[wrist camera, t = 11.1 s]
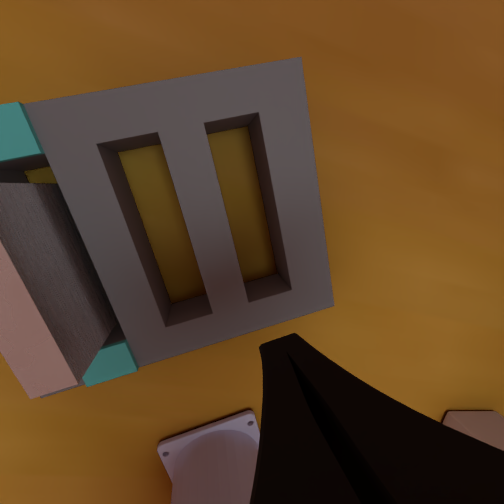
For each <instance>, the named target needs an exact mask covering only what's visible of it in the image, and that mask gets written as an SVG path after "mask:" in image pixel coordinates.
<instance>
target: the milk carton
mask: <svg viewBox="0 0 504 504" xmlns="http://www.w3.org/2000/svg"><path fill="white" fill-rule="evenodd" d="M442 424H444V425H446V426H448V427H451V428H453V429H455V430H457V431H460V432H462V433H464V434H466V435H469V436H471V437H473V438H476V439H478V440H480V441H482V442H485V443H487V444H489V445H491V446H494V447H496V448H498V449H501V450H503V451H504V417H503V416H501V415H500V414H499V413H497V412H496V411H449V412H447V415H446V417H445V419H444V421H443V423H442Z"/></svg>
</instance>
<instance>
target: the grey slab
mask: <svg viewBox="0 0 504 504" xmlns="http://www.w3.org/2000/svg"><path fill="white" fill-rule="evenodd" d="M117 321H118V319H117V317H116V314H115V312H114V310H113V307H112V305H111V303H110V301H109V298H108V296H107V294H106V292H105V289H104V287H103V285H102V282H101V280H100V278H99V276H98V273H97V271H96V269H95V266H94V264H93V262H92V260H91V257H90V255H89V253H88V251H87V248H86V246H85V244H84V241H83V239H82V237H81V235H80V232H79V230H78V228H77V226H76V223H75V221H74V219H73V216H72V214H71V212H70V210H69V207H68V205H67V203H66V200H65V198H64V196H63V194H62V191H61V189H60V187H59V185H58V184H40V183H0V352H1V353H2V355H3V357H4V358H5V360H6V361H7V363H8V365H9V366H10V368H11V369H12V371H13V372H14V374H15V376H16V377H17V379H18V380H19V382H20V383H21V385H22V387H23V388H24V390H25V391H26V393H27V395H28V396H29V398H30V399H32V398H36V397H39V396H42V395H45V394H48V393H52V392H55V391H58V390H61V389H64V388H68V387H71V386H74V385H77V384H79V382H80V381H81V379H82V377H83V376H84V374H85V373H86V371H87V369H88V368H89V366H90V365H91V363H92V361H93V360H94V358H95V356H96V355H97V353H98V352H99V350H100V348H101V347H102V345H103V344H104V342H105V340H106V339H107V337H108V336H109V334H110V332H111V331H112V329H113V328H114V326H115V324H116V323H117Z"/></svg>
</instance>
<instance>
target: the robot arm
mask: <svg viewBox="0 0 504 504" xmlns="http://www.w3.org/2000/svg"><path fill="white" fill-rule="evenodd" d="M259 350H260V354H261V359H262V369H263V403H262V416H261V429H260V432H259V428H258V425H257V421H256V418H255V414H254V412H253V411H251V410H248V411H245V412H242V413H239V414H236V415H234V416H231V417H228V418H225V419H222V420H220V421H217V422H214V423H211V424H208V425H206V426H203V427H200V428H197V429H194V430H192V431H189V432H186V433H183V434H180V435H178V436H175V437H172V438H169V439H166V440H164V441H161V442H160V443H159V444H158V447H157V452H158V454H159V456H160V458H161V460H162V462H163V464H164V466H165V469H166V471H167V473H168V475H169V477H170V479H171V481H172V483H173V486H172V496H171V504H504V451H503V450H501V449H498V448H496V447H494V446H491V445H489V444H487V443H485V442H482V441H480V440H478V439H476V438H473V437H471V436H469V435H466V434H464V433H462V432H460V431H457V430H455V429H453V428H451V427H448V426H446V425H444V424H442V423H439V422H437V421H435V420H433V419H431V418H429V417H427V416H425V415H423V414H421V413H419V412H417V411H415V410H413V409H411V408H409V407H408V406H406V405H404V404H402V403H400V402H398V401H396V400H394V399H392V398H391V397H389V396H387V395H385V394H384V393H382V392H380V391H378V390H377V389H375V388H373V387H372V386H370V385H368V384H367V383H365V382H363V381H362V380H360V379H358V378H357V377H355V376H354V375H352V374H351V373H349V372H348V371H346V370H345V369H343V368H342V367H340V366H339V365H337V364H336V363H334V362H333V361H331V360H330V359H329V358H327V357H326V356H324V355H323V354H322V353H320V352H319V351H318V350H316V349H315V348H314V347H312V346H311V345H310V344H309V343H307V342H306V341H305V340H304V339H302V338H301V337H300V336H299V335H297V334H296V333H293V334H290V335H287V336H284V337H281V338H278V339H275V340H272V341H269V342H266V343H264V344H261V346H260V347H259Z"/></svg>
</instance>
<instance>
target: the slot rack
mask: <svg viewBox="0 0 504 504" xmlns="http://www.w3.org/2000/svg"><path fill="white" fill-rule="evenodd" d="M245 126H248V129H249V134H250V139H251V143H252V148H253V153H254V158H255V163H256V168H257V173H258V178H259V183H260V188H261V193H262V198H263V203H264V208H265V213H266V218H267V223H268V228H269V233H270V238H271V243H272V248H273V253H274V257H275V262H276V267H277V272H278V274H274V275H271V276H267V277H264V278H260V279H257V280H253V281H250V282H246V283H244V282H243V278H242V274H241V270H240V266H239V262H238V258H237V254H236V250H235V246H234V242H233V238H232V234H231V230H230V226H229V222H228V218H227V214H226V210H225V206H224V202H223V198H222V194H221V190H220V186H219V182H218V178H217V174H216V170H215V166H214V162H213V158H212V154H211V150H210V146H209V142H208V138H207V134H210V133H215V132H220V131H225V130H230V129H235V128H240V127H245ZM156 144H162V147H163V150H164V154H165V157H166V160H167V164H168V167H169V170H170V174H171V177H172V180H173V183H174V187H175V190H176V193H177V197H178V200H179V203H180V207H181V210H182V213H183V216H184V220H185V223H186V226H187V230H188V233H189V236H190V240H191V243H192V246H193V249H194V253H195V256H196V259H197V263H198V266H199V269H200V273H201V276H202V279H203V282H204V286H205V289H206V292H207V294H205V295H201V296H198V297H194V298H191V299H187V300H184V301H180V302H177V303H173V304H171V301H170V299H169V296H168V293H167V290H166V287H165V285H164V282H163V279H162V276H161V273H160V271H159V268H158V265H157V262H156V259H155V257H154V254H153V251H152V248H151V245H150V243H149V240H148V237H147V234H146V231H145V228H144V226H143V223H142V220H141V217H140V214H139V212H138V209H137V206H136V203H135V200H134V198H133V195H132V192H131V189H130V186H129V184H128V181H127V178H126V175H125V172H124V170H123V167H122V164H121V161H120V158H119V156H118V153H117V152H121V151H126V150H131V149H136V148H141V147H146V146H151V145H156ZM47 166H51V169H52V171H53V173H54V175H55V178H56V180H57V182H58V185H59V187H60V189H61V191H62V194H63V196H64V198H65V200H66V203H67V205H68V207H69V210H70V212H71V214H72V216H73V219H74V221H75V223H76V226H77V228H78V230H79V232H80V235H81V237H82V239H83V241H84V244H85V246H86V248H87V251H88V253H89V255H90V257H91V260H92V262H93V264H94V266H95V269H96V271H97V273H98V276H99V278H100V280H101V282H102V285H103V287H104V289H105V292H106V294H107V296H108V298H109V301H110V303H111V305H112V307H113V310H114V312H115V314H116V317H117V319H118V321H117V323H116V324H115V326H114V328H113V329H112V331H111V332H110V334H109V336H108V337H107V339H106V340H105V342H104V344H103V345H102V347H101V348H100V350H99V352H98V353H97V355H96V356H95V358H94V360H93V361H92V363H91V365H90V366H89V368H88V369H87V371H86V373H85V374H84V376H83V377H82V379H81V381H80V382H79V384H77V385H74V386H71V387H68V388H64V389H61V390H58V391H55V392H52V393H48V394H45V395H42V396H40V397H41V398H43V397H46V396H50V395H53V394H56V393H59V392H62V391H65V390H69V389H72V388H75V387H78V386H81V385H85V384H86V386H87V387H89V386H92V385H95V384H98V383H101V382H105V381H108V380H111V379H114V378H117V377H120V376H123V375H127V374H130V373H133V372H136V371H138V368H139V367H142V366H145V365H148V364H151V363H154V362H158V361H161V360H164V359H167V358H170V357H173V356H177V355H180V354H183V353H186V352H189V351H192V350H196V349H199V348H202V347H205V346H208V345H212V344H215V343H218V342H221V341H224V340H227V339H231V338H234V337H237V336H240V335H243V334H246V333H250V332H253V331H256V330H259V329H262V328H265V327H269V326H272V325H275V324H278V323H281V322H285V321H288V320H291V319H294V318H297V317H300V316H304V315H307V314H310V313H313V312H316V311H319V310H323V309H326V308H329V307H332V306H334V300H333V292H332V285H331V277H330V270H329V262H328V255H327V247H326V240H325V232H324V225H323V217H322V210H321V202H320V195H319V187H318V180H317V172H316V164H315V157H314V149H313V142H312V134H311V127H310V119H309V112H308V104H307V97H306V89H305V82H304V74H303V67H302V59H301V57H298V58H292V59H286V60H280V61H274V62H268V63H262V64H256V65H251V66H245V67H239V68H233V69H227V70H221V71H215V72H209V73H203V74H198V75H192V76H186V77H180V78H174V79H168V80H162V81H156V82H150V83H144V84H139V85H133V86H127V87H121V88H115V89H109V90H103V91H97V92H91V93H86V94H80V95H74V96H68V97H62V98H56V99H50V100H44V101H38V102H33V103H27V104H22V103H20V102H14V103H8V104H2V105H0V183H29V182H28V180H27V178H26V176H25V174H24V171H27V170H32V169H37V168H42V167H47Z"/></svg>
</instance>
